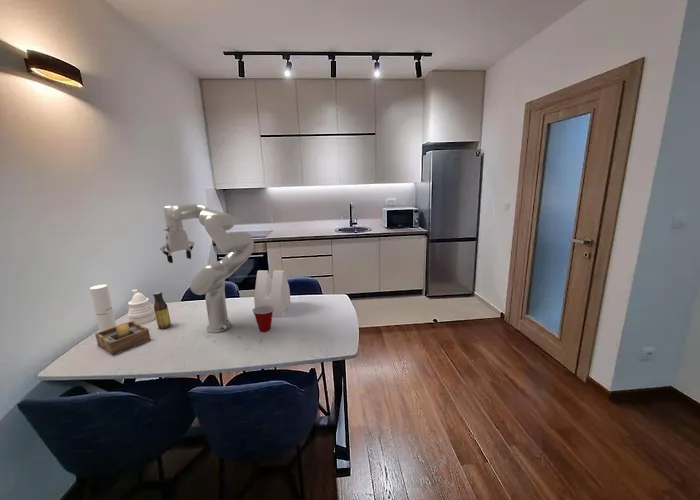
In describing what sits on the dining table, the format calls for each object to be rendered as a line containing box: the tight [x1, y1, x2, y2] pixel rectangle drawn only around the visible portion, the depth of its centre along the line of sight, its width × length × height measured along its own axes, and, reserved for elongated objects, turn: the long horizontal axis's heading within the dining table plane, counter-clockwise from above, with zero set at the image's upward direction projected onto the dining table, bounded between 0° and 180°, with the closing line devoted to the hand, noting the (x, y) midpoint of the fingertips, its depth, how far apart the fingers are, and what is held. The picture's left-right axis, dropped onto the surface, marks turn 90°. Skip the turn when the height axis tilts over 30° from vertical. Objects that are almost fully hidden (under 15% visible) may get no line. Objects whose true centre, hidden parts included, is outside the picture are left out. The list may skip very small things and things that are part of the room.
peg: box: [116, 322, 130, 339], centre depth 148 cm, size 5×5×8 cm
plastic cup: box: [252, 306, 274, 333], centre depth 156 cm, size 11×11×12 cm
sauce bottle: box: [152, 291, 172, 330], centre depth 162 cm, size 6×6×20 cm
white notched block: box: [253, 269, 292, 318], centre depth 179 cm, size 19×15×25 cm
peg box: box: [95, 321, 151, 356], centre depth 148 cm, size 18×16×6 cm
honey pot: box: [127, 289, 156, 325], centre depth 172 cm, size 13×13×18 cm
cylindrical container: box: [89, 284, 117, 332], centre depth 160 cm, size 7×7×25 cm
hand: (180, 260), depth 160 cm, fingers open, 9 cm apart
